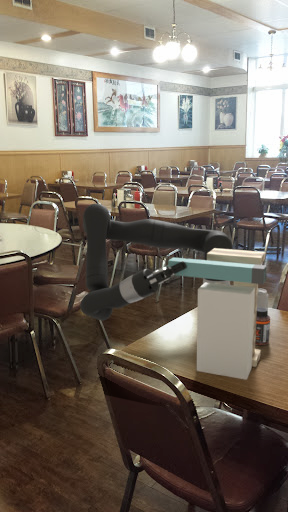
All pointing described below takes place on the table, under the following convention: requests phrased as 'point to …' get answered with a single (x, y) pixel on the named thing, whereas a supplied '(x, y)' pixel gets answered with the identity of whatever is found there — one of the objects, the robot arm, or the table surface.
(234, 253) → the beige wooden column stand
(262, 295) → the can
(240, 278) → the teal bar
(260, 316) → the supplement bottle
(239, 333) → the base pedestal
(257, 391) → the table surface
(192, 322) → the table surface
